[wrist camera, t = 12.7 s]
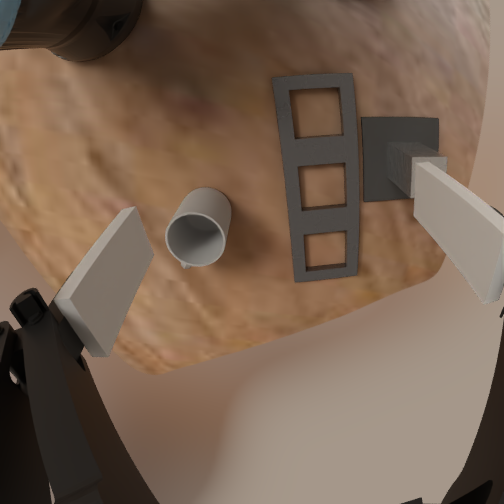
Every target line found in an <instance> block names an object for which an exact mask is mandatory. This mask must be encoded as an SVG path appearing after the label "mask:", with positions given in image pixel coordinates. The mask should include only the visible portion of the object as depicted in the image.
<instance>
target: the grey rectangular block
mask: <svg viewBox="0 0 504 504" xmlns="http://www.w3.org/2000/svg"><path fill="white" fill-rule="evenodd" d="M420 162H430V163H431V164H433V165H434V166H436V167H437V168H439V169H440V170H442V171H443V172H445V173H446V171H447V156H445V155H443V154H441V153H439V152H437V151H435V150H433V149H431V148H429V147H427V146H425V145H423V144H421V143H419V142H387V177H388V178H389V179H390V180H391V181H392V182H393V183H394V184H395V185H397V186H398V187H399V188H400V189H401V190H402V191H403V192H404V193H405V194H406V195H408V196H409V197H410V198H415V163H420Z"/></svg>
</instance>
